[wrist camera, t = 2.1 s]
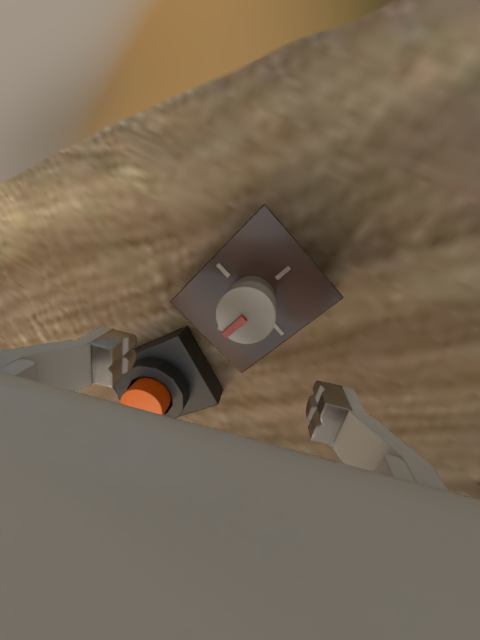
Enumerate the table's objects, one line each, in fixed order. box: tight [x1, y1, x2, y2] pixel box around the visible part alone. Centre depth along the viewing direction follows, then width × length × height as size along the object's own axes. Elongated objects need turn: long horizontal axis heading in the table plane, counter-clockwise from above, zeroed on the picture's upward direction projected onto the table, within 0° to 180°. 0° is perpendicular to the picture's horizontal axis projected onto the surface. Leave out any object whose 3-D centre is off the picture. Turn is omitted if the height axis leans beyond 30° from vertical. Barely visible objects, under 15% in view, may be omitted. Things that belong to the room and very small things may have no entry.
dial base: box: [170, 204, 343, 373], centre depth 22 cm, size 12×10×3 cm
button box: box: [113, 326, 223, 418], centre depth 27 cm, size 11×9×4 cm
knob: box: [216, 276, 276, 344], centre depth 19 cm, size 4×4×5 cm
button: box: [120, 377, 171, 415], centre depth 24 cm, size 4×4×2 cm
